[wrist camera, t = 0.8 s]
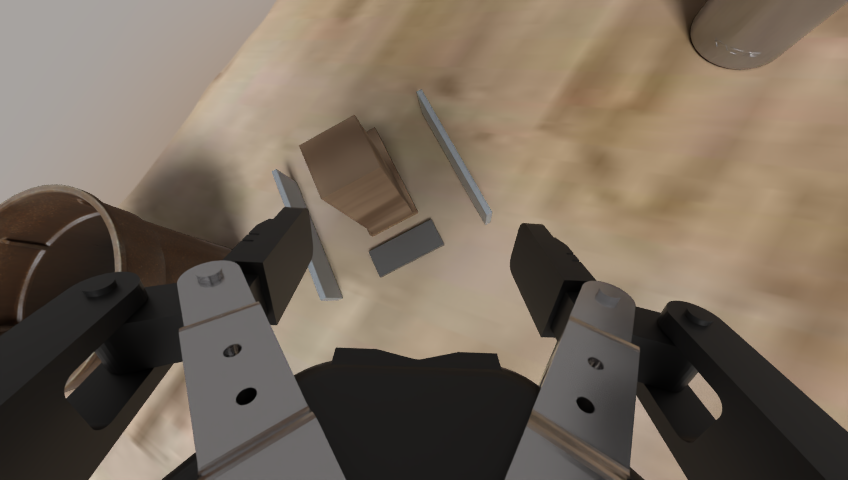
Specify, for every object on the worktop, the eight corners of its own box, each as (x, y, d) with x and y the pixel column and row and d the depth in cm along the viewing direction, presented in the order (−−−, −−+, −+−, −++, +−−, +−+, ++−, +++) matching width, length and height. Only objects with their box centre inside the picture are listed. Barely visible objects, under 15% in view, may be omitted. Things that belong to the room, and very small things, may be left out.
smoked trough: (490, 222, 33) (492, 212, 29) (338, 300, 34) (320, 300, 30) (426, 111, 37) (421, 89, 33) (292, 184, 38) (271, 171, 34)
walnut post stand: (418, 212, 34) (386, 163, 22) (372, 236, 35) (315, 202, 22) (377, 131, 37) (327, 47, 25) (335, 154, 38) (266, 82, 25)
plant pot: (287, 240, 36) (147, 198, 21) (251, 378, 34) (60, 447, 18) (179, 222, 40) (-13, 172, 24) (138, 347, 37) (-106, 382, 21)
